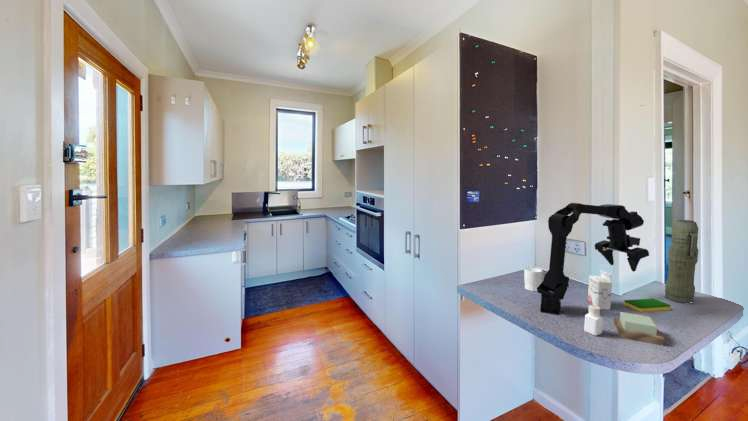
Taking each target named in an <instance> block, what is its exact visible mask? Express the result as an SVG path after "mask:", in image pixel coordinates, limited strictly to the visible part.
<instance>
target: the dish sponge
mask: <svg viewBox="0 0 748 421" xmlns="http://www.w3.org/2000/svg"><path fill="white" fill-rule="evenodd" d="M623 305H624V306H625V307H628V308H630V309H632V310H635V311H637V312H640V313H641V312H657V311H659V312H660V311H672V310H671V309H672V307H671V304H669V303H667V302H663V301H661V300H659V299H656V298H639V299H624V304H623Z"/></svg>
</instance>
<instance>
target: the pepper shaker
mask: <svg viewBox="0 0 748 421" xmlns="http://www.w3.org/2000/svg"><path fill="white" fill-rule="evenodd" d="M587 311H588V312H587V313H586V314H585V315H584V325H583V326H584V327H583V328H584V329H583V331H584V332H585V333H588V334H590V335H593V336H595V337H596V336H598V335H601V334H602V333H603V321H604V319H603V317H602V316H601V314H600V313H601V309H600V307H598V306H595V305H592V304H588V310H587Z"/></svg>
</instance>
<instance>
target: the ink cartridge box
mask: <svg viewBox="0 0 748 421" xmlns="http://www.w3.org/2000/svg"><path fill="white" fill-rule="evenodd" d="M612 277H613V276H612V275H611V274H610V273H608V272H606V271H604V270H603V269H600V275H588V287H587V289H588V291H587V302H589V303H590V305H595V306H598V307H600V310H611V305H612V304H611V303H612V287H613V286H612V285H613V280H612Z"/></svg>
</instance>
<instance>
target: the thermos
mask: <svg viewBox="0 0 748 421" xmlns="http://www.w3.org/2000/svg"><path fill="white" fill-rule="evenodd" d="M698 236H699V227H698V224H697V222H696V221H694V220H689V219H678V220H675V221H674V223H673V225H672V231H671V241H670V242H671V243H670V244H669V246H668V254H667V256H668V257H667V259H668V261H669V262H668V271H667V272H668V273H667V279H666V281H665V288H664V292H665V296H664V298H665V299H666V300H668V301H672V302H675V303H680V304H685V303H690V302H693V303H694V298H695V295H696V286H695V284H694V282H695V274H696V265H697V264H698V260H699V259H698V258H699V248H698V238H699V237H698Z"/></svg>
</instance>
